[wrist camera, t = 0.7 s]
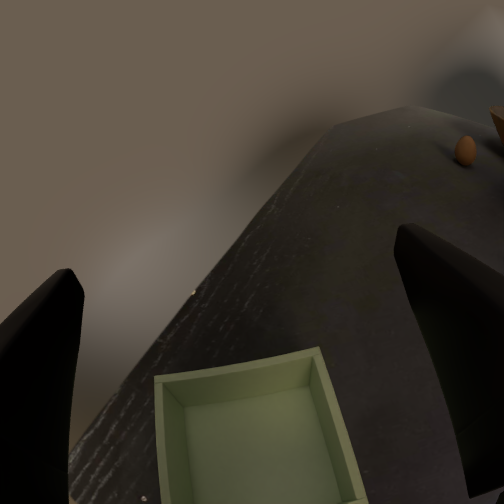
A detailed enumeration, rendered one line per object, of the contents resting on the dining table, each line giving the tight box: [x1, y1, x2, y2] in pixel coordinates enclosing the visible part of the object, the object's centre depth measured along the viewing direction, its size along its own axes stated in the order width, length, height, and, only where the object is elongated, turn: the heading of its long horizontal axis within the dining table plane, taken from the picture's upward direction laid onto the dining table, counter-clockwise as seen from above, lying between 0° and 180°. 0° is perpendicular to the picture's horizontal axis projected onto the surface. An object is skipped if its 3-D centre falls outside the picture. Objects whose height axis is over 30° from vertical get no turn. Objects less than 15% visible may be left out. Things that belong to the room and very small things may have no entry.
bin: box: [154, 347, 369, 504], centre depth 17 cm, size 11×11×6 cm
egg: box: [455, 136, 476, 166], centre depth 46 cm, size 4×4×6 cm
